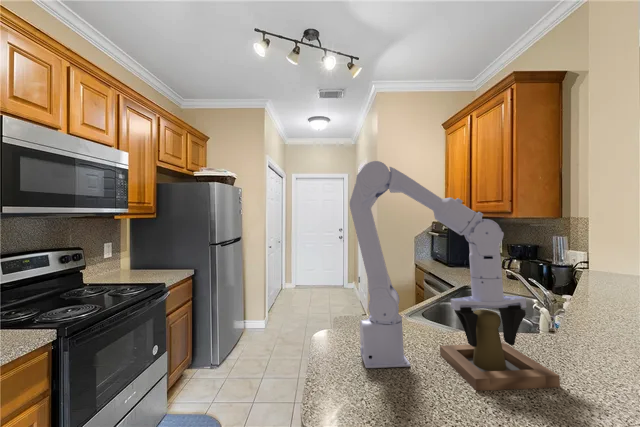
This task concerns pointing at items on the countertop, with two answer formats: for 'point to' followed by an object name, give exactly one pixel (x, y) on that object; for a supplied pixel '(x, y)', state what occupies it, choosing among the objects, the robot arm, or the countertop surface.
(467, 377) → the holder
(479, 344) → the cork
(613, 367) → the countertop surface
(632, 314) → the countertop surface
